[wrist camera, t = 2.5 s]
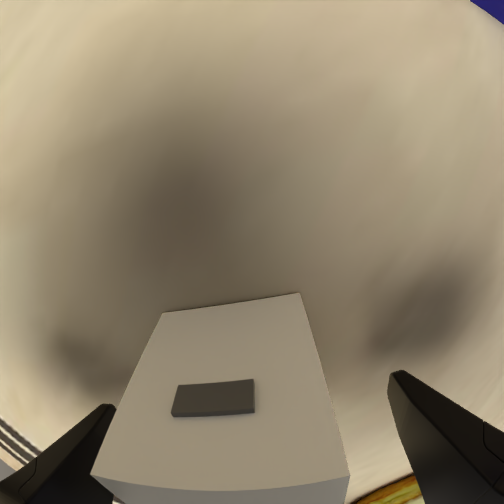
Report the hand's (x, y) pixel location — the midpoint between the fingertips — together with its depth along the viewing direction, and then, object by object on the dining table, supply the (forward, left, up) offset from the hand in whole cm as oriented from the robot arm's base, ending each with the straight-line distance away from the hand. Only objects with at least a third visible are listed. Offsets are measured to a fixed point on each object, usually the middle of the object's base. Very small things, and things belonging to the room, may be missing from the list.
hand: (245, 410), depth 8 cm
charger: (0, +2, -2) cm, 3 cm away
